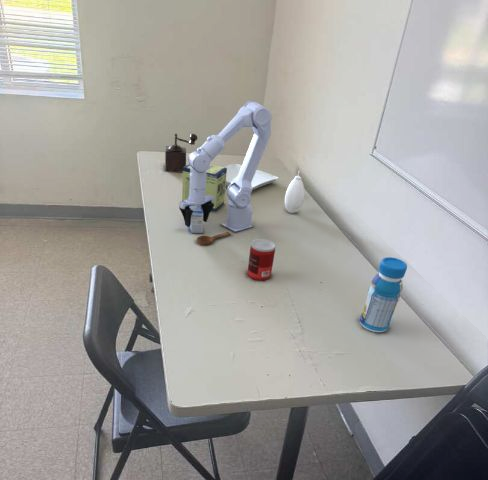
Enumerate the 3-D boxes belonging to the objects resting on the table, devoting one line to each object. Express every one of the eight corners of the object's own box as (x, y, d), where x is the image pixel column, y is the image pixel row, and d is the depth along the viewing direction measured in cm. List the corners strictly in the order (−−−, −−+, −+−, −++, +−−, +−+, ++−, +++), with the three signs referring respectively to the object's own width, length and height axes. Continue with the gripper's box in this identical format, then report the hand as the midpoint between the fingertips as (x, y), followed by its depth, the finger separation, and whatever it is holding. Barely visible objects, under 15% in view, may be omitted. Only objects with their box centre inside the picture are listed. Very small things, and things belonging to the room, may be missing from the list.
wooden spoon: (224, 231, 167) (224, 229, 166) (233, 237, 164) (234, 234, 164) (193, 241, 158) (193, 238, 157) (203, 246, 155) (203, 243, 154)
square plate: (235, 170, 231) (235, 162, 229) (278, 184, 219) (280, 176, 217) (201, 180, 212) (201, 172, 210) (247, 196, 201) (248, 188, 198)
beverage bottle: (370, 335, 122) (392, 272, 110) (353, 318, 128) (371, 256, 116) (394, 330, 125) (418, 268, 113) (376, 314, 131) (396, 253, 119)
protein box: (215, 212, 182) (218, 174, 173) (181, 204, 185) (182, 166, 176) (224, 204, 190) (227, 167, 181) (191, 196, 193) (192, 160, 184)
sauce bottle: (292, 217, 186) (299, 174, 176) (279, 210, 191) (285, 168, 180) (304, 213, 191) (312, 171, 180) (291, 207, 195) (298, 166, 185)
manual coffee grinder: (164, 171, 217) (164, 132, 206) (164, 164, 226) (164, 127, 215) (196, 173, 219) (197, 135, 209) (195, 166, 228) (196, 129, 218)
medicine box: (189, 224, 169) (188, 202, 164) (200, 224, 170) (200, 202, 165) (191, 233, 163) (190, 211, 158) (203, 233, 164) (203, 210, 159)
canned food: (273, 272, 145) (278, 242, 139) (266, 283, 139) (271, 252, 133) (251, 267, 147) (255, 236, 140) (243, 277, 141) (247, 246, 134)
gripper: (205, 180, 164) (204, 215, 171) (174, 187, 155) (173, 223, 163) (218, 186, 160) (216, 222, 168) (187, 193, 151) (185, 230, 159)
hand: (196, 223), depth 165 cm, fingers closed on medicine box, 7 cm apart
